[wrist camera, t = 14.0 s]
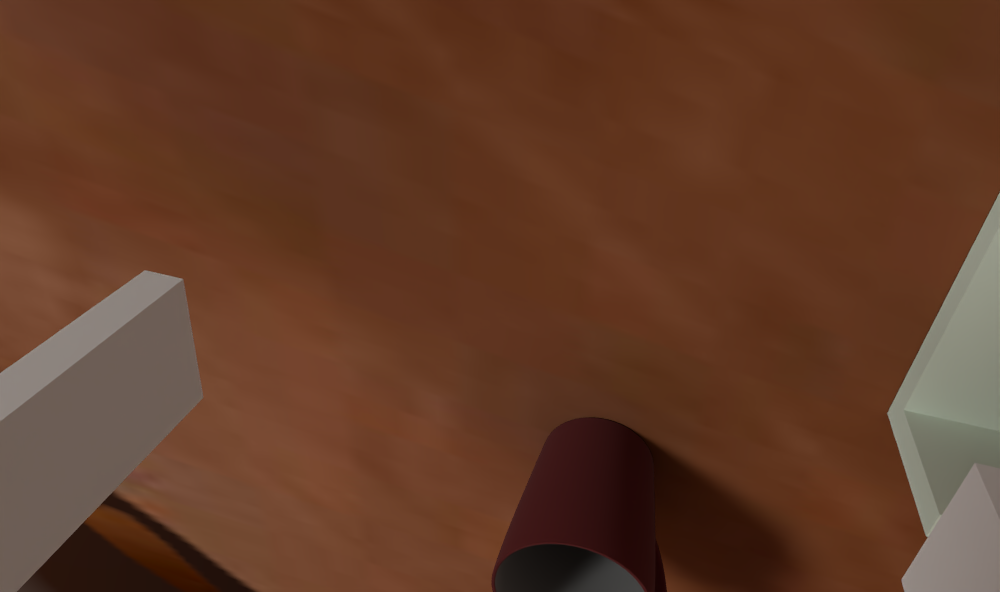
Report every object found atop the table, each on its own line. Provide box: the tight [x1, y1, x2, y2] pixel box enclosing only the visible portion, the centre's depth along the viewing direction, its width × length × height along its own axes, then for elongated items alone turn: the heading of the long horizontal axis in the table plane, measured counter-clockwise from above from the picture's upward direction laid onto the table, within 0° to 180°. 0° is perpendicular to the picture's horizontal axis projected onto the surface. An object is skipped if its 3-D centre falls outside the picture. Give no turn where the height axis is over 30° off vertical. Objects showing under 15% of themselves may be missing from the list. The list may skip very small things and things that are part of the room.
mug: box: [492, 418, 667, 592], centre depth 44 cm, size 12×9×11 cm
